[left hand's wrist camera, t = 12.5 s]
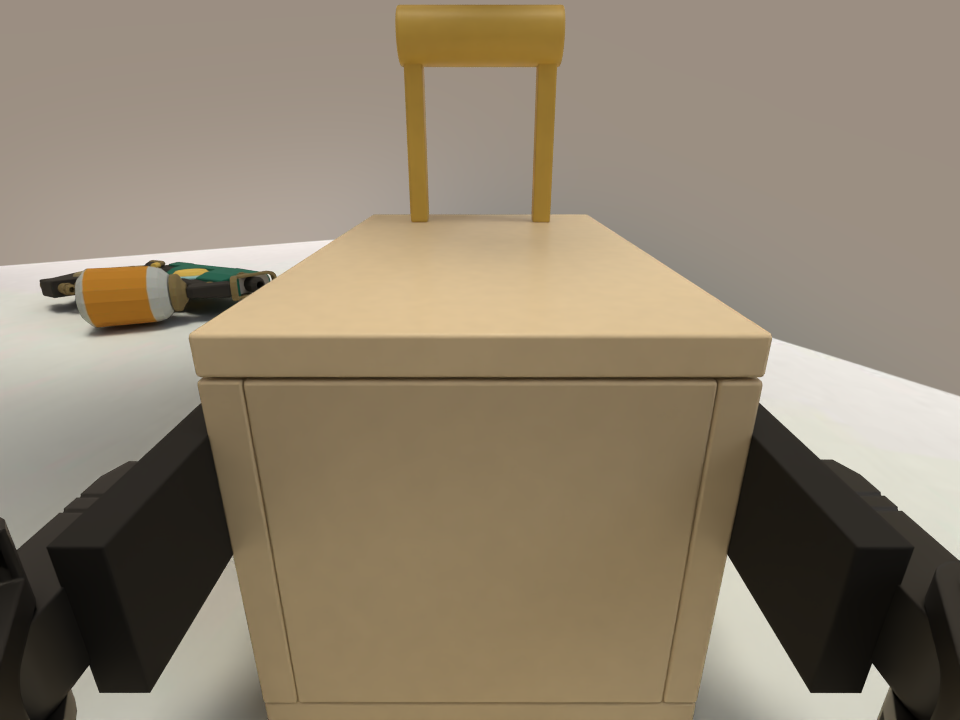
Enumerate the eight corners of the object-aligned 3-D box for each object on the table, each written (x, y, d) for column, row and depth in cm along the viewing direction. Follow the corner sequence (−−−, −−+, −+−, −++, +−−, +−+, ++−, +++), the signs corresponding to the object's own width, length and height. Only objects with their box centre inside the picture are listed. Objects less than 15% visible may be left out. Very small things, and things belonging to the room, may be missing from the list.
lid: (373, 232, 25) (358, 20, 22) (586, 232, 25) (602, 20, 22) (194, 379, 9) (53, -296, 6) (766, 379, 9) (907, -296, 6)
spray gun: (44, 306, 47) (224, 285, 57) (65, 344, 35) (289, 309, 45) (31, 257, 46) (218, 243, 55) (48, 279, 34) (283, 257, 43)
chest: (384, 407, 28) (372, 235, 25) (575, 407, 28) (588, 234, 25) (268, 727, 13) (194, 381, 9) (692, 727, 13) (765, 381, 9)
